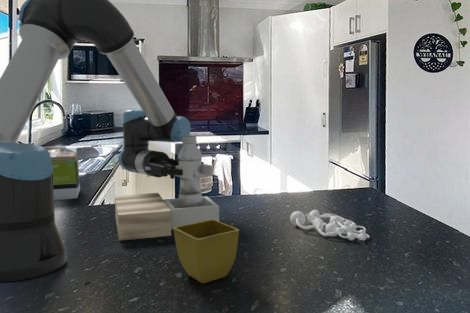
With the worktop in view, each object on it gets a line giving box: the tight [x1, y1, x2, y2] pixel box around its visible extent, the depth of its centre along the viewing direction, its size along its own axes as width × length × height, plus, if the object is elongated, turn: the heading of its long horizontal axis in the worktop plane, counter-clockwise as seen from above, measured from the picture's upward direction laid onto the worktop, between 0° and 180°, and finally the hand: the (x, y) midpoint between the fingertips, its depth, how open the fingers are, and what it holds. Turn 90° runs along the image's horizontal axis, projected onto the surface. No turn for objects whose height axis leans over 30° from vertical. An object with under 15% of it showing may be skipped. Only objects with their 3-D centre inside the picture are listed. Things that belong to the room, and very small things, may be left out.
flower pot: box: [172, 219, 240, 284], centre depth 73 cm, size 9×9×9 cm
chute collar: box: [163, 195, 220, 231], centre depth 110 cm, size 12×12×5 cm
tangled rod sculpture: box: [289, 209, 370, 241], centre depth 101 cm, size 19×14×4 cm
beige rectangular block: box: [114, 192, 172, 242], centre depth 106 cm, size 22×12×6 cm, turn 18°
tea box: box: [49, 151, 81, 201], centre depth 143 cm, size 15×10×15 cm, turn 17°
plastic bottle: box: [177, 135, 203, 208], centre depth 109 cm, size 6×7×20 cm
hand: (202, 172), depth 105 cm, fingers closed on plastic bottle, 6 cm apart
